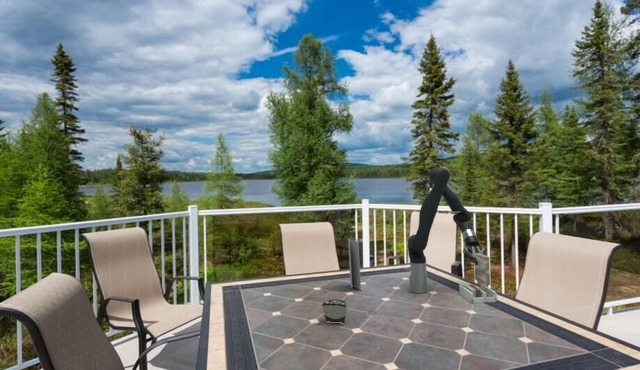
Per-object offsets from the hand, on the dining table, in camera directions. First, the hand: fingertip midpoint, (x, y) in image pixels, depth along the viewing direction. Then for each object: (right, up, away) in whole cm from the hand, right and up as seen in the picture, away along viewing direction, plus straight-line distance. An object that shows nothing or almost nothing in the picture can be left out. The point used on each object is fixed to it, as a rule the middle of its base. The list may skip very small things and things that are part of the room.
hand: (480, 264), depth 204 cm
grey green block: (-4, -18, -2) cm, 19 cm away
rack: (-2, -18, -2) cm, 18 cm away
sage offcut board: (-6, -18, -2) cm, 19 cm away
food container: (-80, -22, -27) cm, 88 cm away
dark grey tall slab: (-66, -21, +28) cm, 75 cm away
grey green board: (0, -10, -2) cm, 10 cm away
